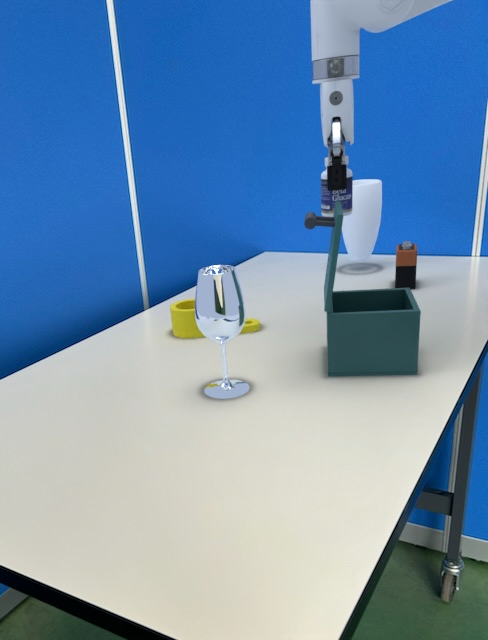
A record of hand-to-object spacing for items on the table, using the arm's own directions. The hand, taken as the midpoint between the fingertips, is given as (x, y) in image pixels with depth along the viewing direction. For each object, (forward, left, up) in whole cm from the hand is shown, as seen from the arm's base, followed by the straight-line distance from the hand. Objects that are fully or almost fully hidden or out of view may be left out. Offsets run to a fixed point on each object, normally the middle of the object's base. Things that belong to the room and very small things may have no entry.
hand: (336, 186), depth 109 cm
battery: (-16, -29, -27) cm, 43 cm away
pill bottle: (0, 0, -5) cm, 5 cm away
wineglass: (+18, +26, -27) cm, 42 cm away
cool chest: (-5, +16, -27) cm, 32 cm away
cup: (-7, -46, -27) cm, 54 cm away
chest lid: (+1, +16, -8) cm, 18 cm away
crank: (+24, -3, -27) cm, 37 cm away
